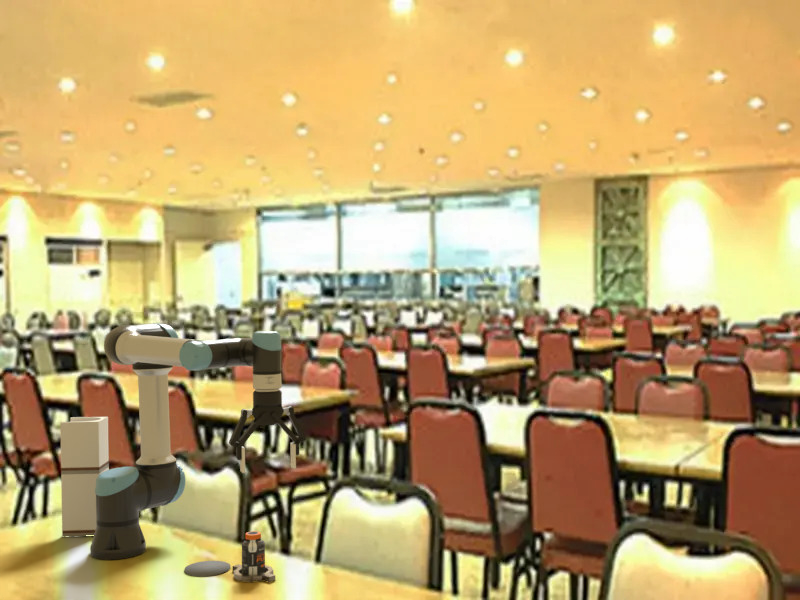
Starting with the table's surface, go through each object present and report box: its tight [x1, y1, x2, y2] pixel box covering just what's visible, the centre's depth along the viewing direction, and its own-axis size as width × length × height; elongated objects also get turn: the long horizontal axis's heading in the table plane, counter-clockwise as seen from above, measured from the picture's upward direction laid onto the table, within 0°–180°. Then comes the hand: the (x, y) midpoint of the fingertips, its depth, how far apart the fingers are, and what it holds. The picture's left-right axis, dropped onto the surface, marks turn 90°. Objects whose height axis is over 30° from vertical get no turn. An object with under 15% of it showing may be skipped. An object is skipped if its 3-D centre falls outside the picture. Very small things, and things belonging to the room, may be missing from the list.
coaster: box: [184, 560, 231, 577], centre depth 242 cm, size 12×12×1 cm
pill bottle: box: [241, 530, 266, 575], centre depth 236 cm, size 6×6×11 cm
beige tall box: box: [59, 416, 110, 537], centre depth 280 cm, size 11×11×35 cm
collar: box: [232, 564, 276, 583], centre depth 236 cm, size 15×10×1 cm
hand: (268, 470), depth 240 cm, fingers open, 13 cm apart
